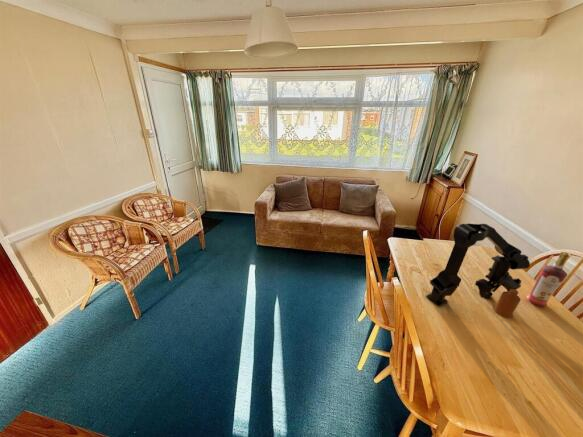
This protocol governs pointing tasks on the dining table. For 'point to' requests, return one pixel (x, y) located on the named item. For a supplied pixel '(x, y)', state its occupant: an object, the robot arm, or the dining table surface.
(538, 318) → the dining table surface
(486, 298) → the cap
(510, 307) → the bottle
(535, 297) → the liquor
